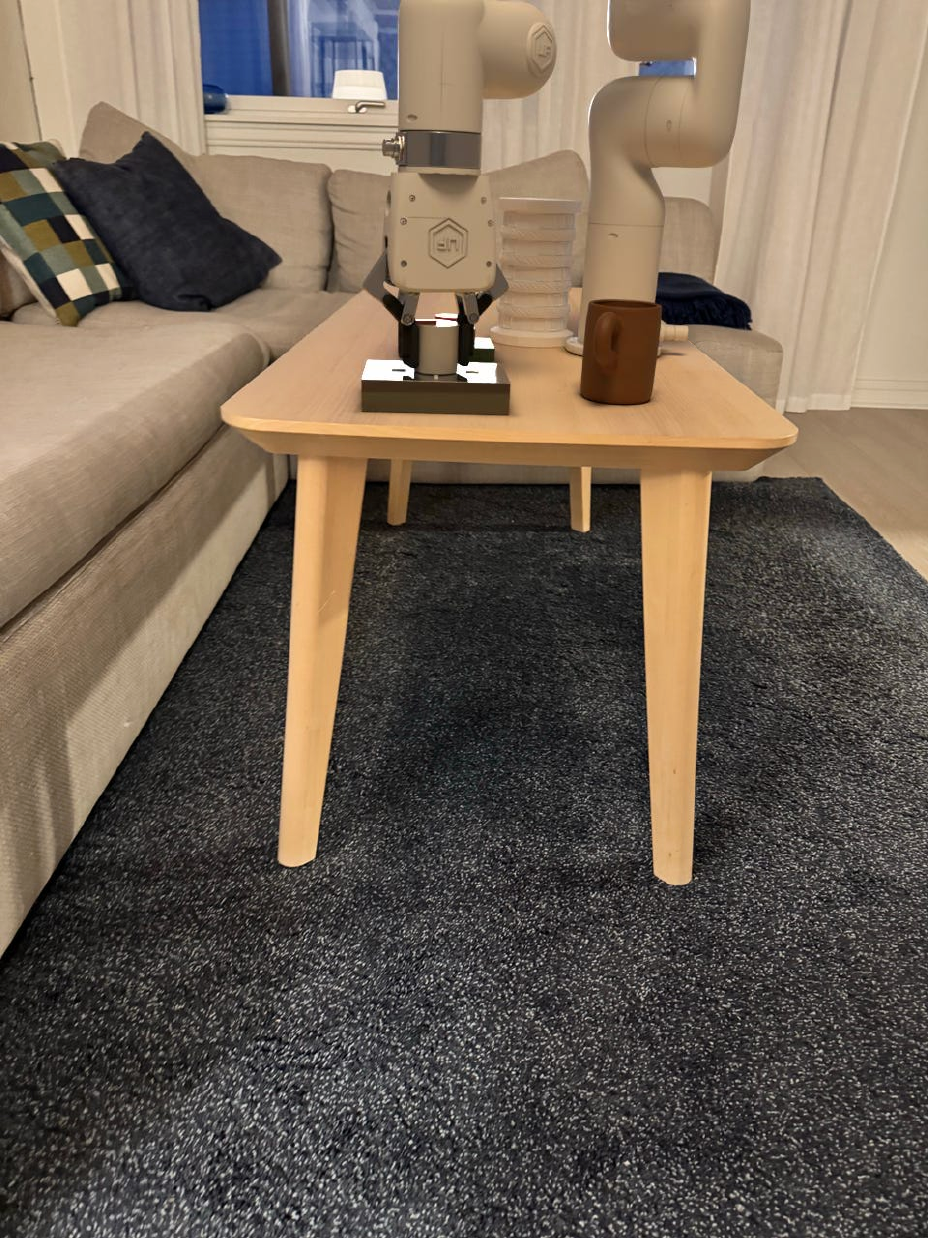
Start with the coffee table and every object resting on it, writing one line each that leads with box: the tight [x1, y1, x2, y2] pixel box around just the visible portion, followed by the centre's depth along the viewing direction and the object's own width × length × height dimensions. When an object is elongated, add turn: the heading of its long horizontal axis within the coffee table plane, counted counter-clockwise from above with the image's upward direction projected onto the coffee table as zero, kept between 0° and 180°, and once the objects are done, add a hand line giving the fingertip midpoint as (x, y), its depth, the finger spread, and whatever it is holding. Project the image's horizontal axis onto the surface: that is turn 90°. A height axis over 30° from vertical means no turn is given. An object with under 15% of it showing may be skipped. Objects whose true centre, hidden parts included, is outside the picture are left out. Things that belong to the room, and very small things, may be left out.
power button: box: [434, 313, 458, 322], centre depth 112 cm, size 4×4×2 cm
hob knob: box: [413, 318, 459, 375], centre depth 88 cm, size 4×4×5 cm
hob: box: [360, 359, 512, 416], centre depth 90 cm, size 14×10×3 cm
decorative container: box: [489, 197, 583, 348], centre depth 123 cm, size 12×12×18 cm
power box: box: [469, 326, 496, 363], centre depth 113 cm, size 11×8×4 cm
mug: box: [579, 299, 663, 405], centre depth 91 cm, size 12×8×9 cm, turn 156°
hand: (435, 362), depth 89 cm, fingers closed on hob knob, 4 cm apart
